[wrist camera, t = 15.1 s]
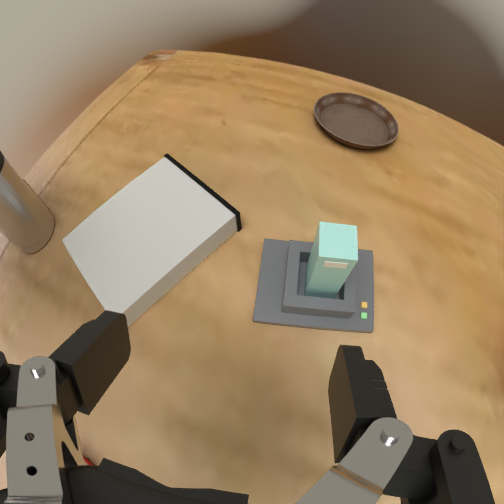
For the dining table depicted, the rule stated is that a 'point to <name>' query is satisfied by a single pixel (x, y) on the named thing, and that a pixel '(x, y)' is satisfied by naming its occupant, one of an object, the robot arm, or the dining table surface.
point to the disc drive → (150, 237)
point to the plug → (330, 259)
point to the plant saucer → (356, 120)
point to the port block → (305, 307)
